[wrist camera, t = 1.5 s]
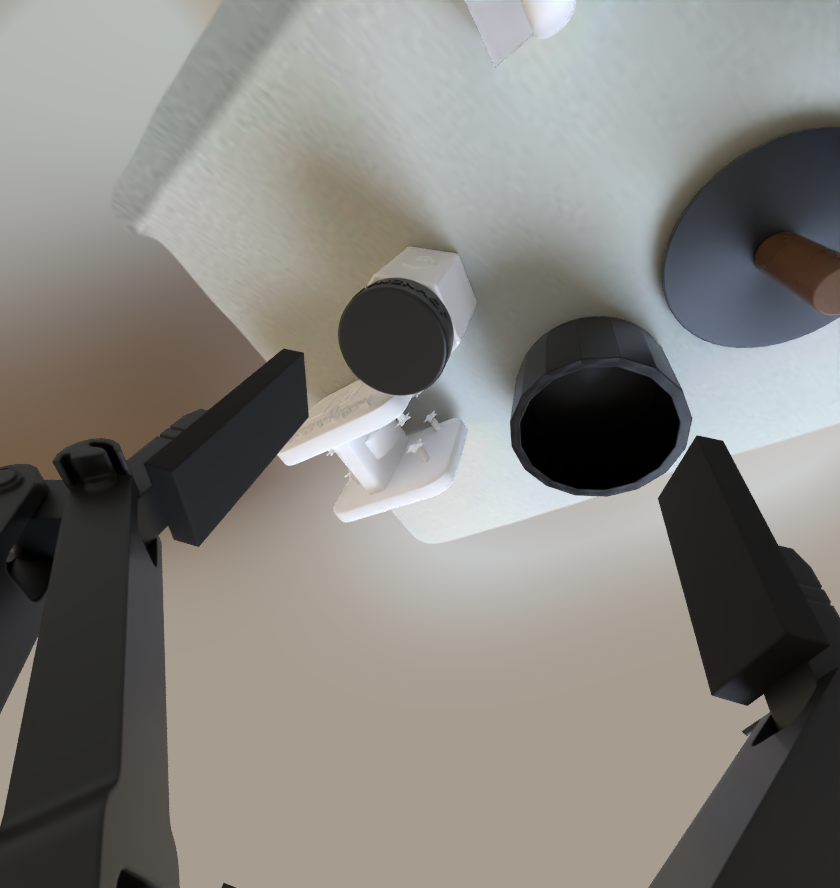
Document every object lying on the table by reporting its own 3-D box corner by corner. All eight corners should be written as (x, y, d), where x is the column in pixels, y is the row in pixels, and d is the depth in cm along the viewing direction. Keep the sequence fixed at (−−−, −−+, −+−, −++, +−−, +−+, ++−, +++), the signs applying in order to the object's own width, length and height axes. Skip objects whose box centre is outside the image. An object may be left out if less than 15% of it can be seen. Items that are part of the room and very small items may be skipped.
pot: (594, 284, 36) (602, 320, 29) (700, 380, 38) (731, 434, 31) (490, 387, 44) (478, 434, 37) (584, 461, 46) (589, 518, 39)
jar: (485, 254, 36) (461, 298, 27) (470, 343, 41) (446, 407, 32) (384, 239, 38) (328, 276, 28) (382, 327, 43) (333, 384, 33)
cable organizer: (367, 462, 54) (330, 530, 45) (315, 394, 50) (262, 454, 41) (472, 422, 46) (452, 493, 37) (421, 339, 42) (385, 397, 33)
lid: (819, 68, 26) (938, 42, 18) (955, 229, 28) (1111, 269, 20) (619, 265, 34) (639, 307, 26) (737, 374, 37) (787, 442, 29)
